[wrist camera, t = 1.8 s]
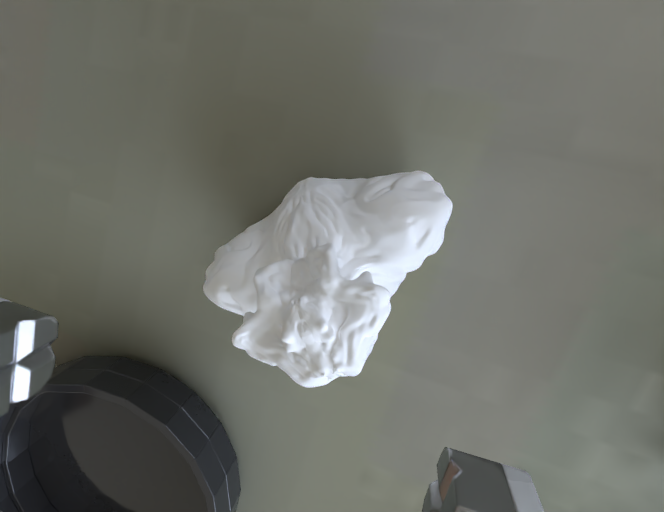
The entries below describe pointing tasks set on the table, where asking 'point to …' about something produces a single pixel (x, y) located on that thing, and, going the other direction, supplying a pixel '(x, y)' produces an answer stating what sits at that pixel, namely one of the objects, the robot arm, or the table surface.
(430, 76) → the table surface
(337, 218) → the bust
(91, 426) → the pan
